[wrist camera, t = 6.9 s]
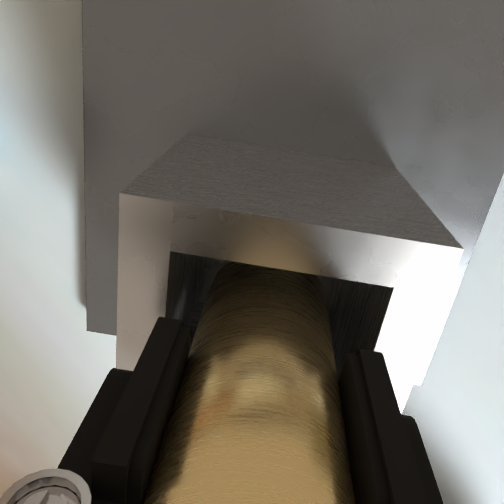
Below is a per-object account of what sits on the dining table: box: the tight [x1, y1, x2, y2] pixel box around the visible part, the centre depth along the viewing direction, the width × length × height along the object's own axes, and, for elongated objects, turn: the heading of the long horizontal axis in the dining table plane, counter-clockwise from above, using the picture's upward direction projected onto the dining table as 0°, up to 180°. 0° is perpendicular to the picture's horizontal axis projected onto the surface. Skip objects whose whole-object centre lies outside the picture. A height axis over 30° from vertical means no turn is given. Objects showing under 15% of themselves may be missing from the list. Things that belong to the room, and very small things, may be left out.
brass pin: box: [142, 261, 356, 504], centre depth 9 cm, size 4×4×10 cm
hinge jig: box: [82, 0, 504, 414], centre depth 13 cm, size 15×19×8 cm
